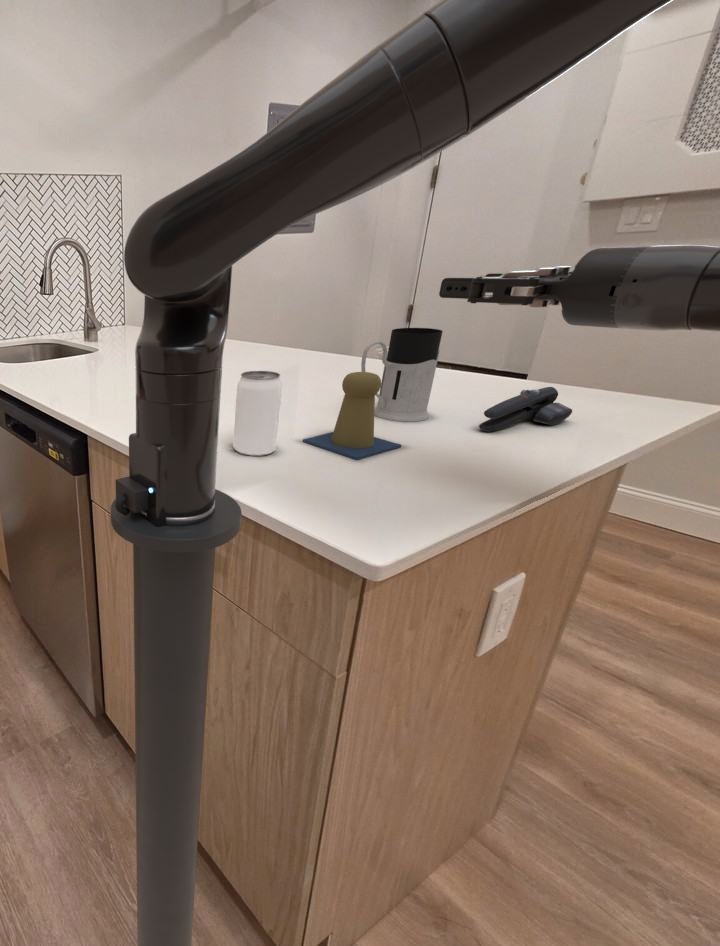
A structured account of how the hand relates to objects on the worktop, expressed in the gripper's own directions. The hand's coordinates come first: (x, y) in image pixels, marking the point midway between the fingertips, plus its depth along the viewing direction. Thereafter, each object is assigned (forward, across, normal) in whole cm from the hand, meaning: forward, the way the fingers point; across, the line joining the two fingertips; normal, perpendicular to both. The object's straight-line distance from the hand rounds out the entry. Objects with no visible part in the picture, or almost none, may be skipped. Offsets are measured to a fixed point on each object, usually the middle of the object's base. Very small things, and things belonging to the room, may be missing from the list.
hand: (463, 285), depth 64 cm
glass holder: (+18, -18, +24) cm, 35 cm away
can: (+18, +14, +24) cm, 33 cm away
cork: (+11, 0, +24) cm, 26 cm away
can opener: (+3, -30, +24) cm, 39 cm away
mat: (+12, 0, +24) cm, 27 cm away
